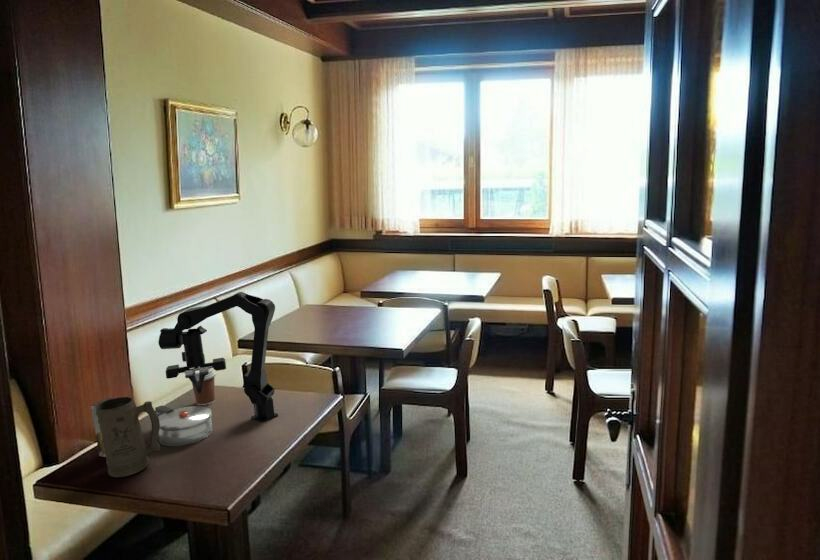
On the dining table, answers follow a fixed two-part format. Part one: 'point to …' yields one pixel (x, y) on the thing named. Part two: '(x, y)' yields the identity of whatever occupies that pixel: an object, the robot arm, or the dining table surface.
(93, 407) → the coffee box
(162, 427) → the cooker lid
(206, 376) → the coffee cup
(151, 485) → the dining table surface
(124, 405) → the beer stein
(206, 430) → the cooker pot
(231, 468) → the dining table surface
